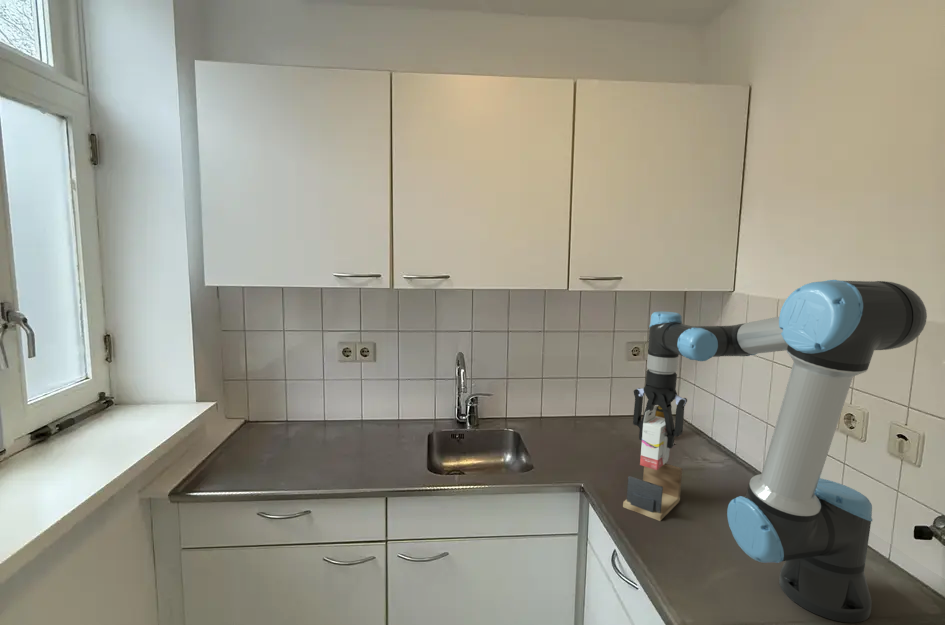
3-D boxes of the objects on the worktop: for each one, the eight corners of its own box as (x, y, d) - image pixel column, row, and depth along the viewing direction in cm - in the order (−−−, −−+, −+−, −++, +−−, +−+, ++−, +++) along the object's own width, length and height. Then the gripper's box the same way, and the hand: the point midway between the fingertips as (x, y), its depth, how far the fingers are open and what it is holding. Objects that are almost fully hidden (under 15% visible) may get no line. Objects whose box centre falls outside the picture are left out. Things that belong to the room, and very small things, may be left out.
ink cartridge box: (658, 471, 131) (662, 416, 129) (639, 465, 134) (643, 412, 132) (669, 460, 137) (673, 408, 135) (651, 455, 140) (655, 404, 138)
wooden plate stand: (679, 501, 139) (682, 468, 138) (660, 521, 128) (662, 485, 127) (644, 489, 145) (646, 457, 144) (622, 507, 135) (625, 473, 134)
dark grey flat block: (660, 512, 130) (662, 486, 129) (658, 514, 128) (660, 488, 128) (627, 500, 135) (629, 475, 135) (625, 502, 134) (626, 477, 133)
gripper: (702, 374, 129) (694, 461, 132) (634, 362, 141) (628, 442, 144) (692, 380, 123) (684, 470, 127) (622, 366, 135) (617, 449, 138)
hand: (654, 455), depth 135 cm, fingers closed on ink cartridge box, 5 cm apart
